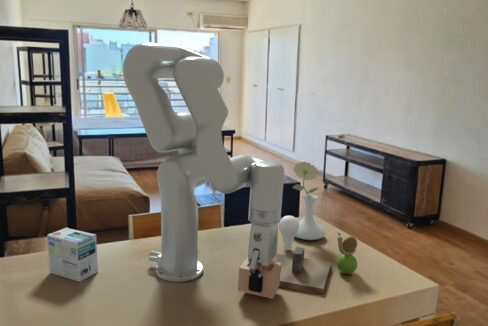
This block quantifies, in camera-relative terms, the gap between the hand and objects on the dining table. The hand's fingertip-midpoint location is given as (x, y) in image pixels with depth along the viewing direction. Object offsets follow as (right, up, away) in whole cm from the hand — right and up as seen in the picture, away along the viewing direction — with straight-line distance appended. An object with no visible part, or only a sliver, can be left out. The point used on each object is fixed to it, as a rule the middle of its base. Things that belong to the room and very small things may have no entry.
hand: (259, 283), depth 106 cm
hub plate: (+11, -1, +12) cm, 16 cm away
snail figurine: (+24, -1, +14) cm, 28 cm away
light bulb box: (-48, 0, +8) cm, 49 cm away
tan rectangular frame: (0, -1, 0) cm, 1 cm away
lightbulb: (+9, +2, +27) cm, 29 cm away
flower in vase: (+17, +5, +40) cm, 43 cm away
